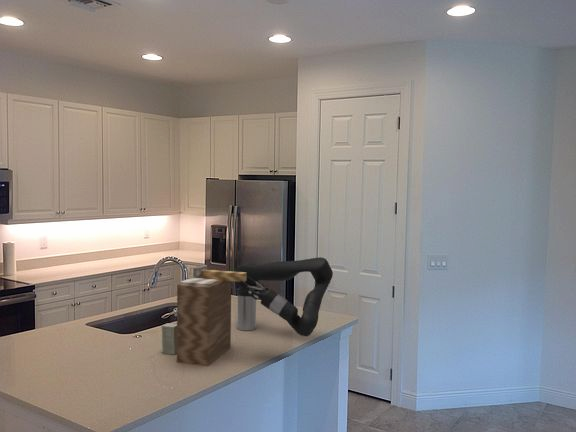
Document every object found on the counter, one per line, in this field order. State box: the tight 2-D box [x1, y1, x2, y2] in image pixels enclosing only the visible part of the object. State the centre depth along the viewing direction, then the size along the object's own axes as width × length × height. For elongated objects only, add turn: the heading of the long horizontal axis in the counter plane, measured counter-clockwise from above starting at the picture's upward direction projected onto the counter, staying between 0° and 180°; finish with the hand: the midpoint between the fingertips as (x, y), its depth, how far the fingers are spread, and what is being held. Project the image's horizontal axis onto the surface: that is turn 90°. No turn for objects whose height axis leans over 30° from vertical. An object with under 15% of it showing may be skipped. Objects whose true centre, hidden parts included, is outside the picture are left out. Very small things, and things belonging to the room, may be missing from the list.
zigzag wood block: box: [176, 277, 232, 367], centre depth 219 cm, size 14×24×33 cm, turn 165°
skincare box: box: [161, 322, 177, 355], centre depth 222 cm, size 6×4×12 cm
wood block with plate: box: [192, 264, 247, 283], centre depth 221 cm, size 22×9×5 cm, turn 75°
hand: (243, 280), depth 219 cm, fingers open, 8 cm apart
